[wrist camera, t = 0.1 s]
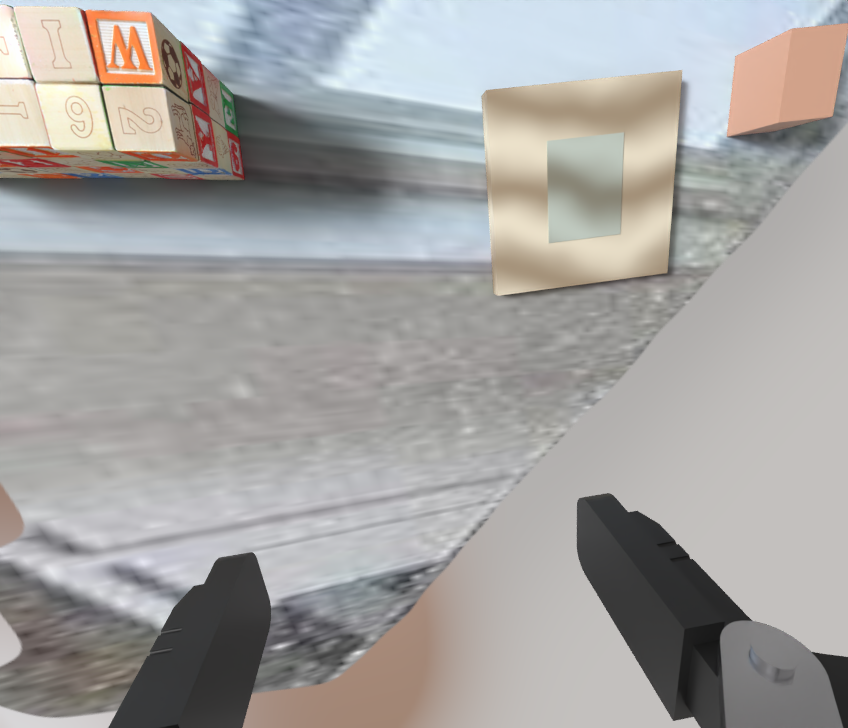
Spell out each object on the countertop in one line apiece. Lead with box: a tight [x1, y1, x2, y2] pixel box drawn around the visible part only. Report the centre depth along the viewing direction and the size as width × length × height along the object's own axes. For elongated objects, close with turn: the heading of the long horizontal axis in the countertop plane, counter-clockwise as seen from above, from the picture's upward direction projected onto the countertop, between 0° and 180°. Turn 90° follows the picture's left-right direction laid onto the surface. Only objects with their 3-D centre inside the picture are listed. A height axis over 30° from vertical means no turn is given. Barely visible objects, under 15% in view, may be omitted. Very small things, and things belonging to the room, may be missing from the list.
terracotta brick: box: [727, 23, 848, 137], centre depth 33 cm, size 6×4×5 cm
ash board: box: [482, 70, 682, 296], centre depth 35 cm, size 16×16×2 cm
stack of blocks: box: [0, 5, 244, 180], centre depth 25 cm, size 21×6×12 cm, turn 90°
